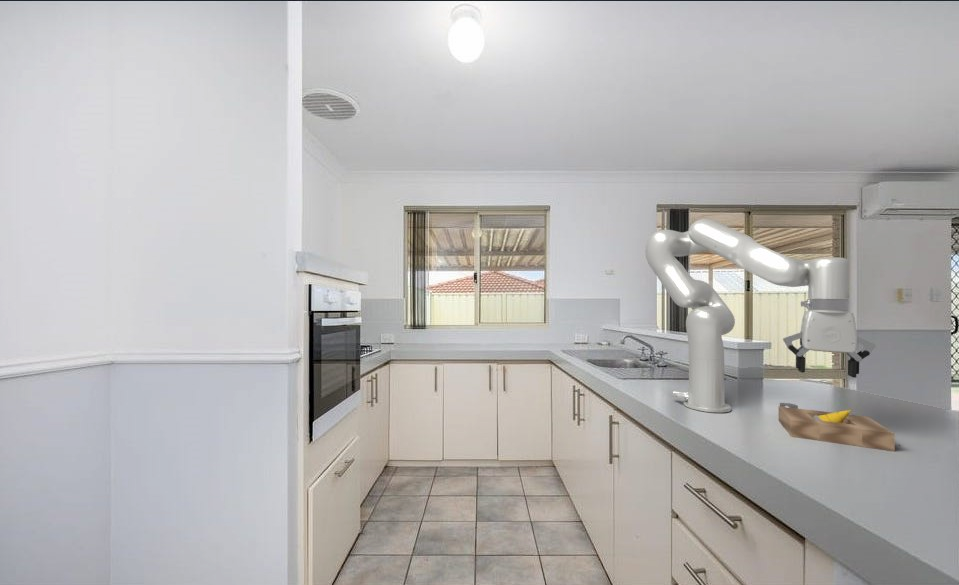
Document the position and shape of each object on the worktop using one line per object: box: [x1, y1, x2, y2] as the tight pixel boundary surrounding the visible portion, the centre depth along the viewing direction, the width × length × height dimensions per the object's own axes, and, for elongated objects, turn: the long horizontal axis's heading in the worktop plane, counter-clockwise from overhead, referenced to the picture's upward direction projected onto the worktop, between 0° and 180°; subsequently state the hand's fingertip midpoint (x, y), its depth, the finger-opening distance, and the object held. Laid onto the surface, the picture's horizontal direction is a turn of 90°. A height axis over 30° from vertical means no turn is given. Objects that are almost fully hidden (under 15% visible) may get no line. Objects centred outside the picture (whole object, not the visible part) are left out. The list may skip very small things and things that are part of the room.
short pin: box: [779, 402, 799, 409], centre depth 106 cm, size 4×4×4 cm
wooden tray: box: [778, 405, 896, 452], centre depth 93 cm, size 18×14×4 cm
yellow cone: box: [813, 409, 852, 423], centre depth 93 cm, size 5×5×10 cm
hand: (826, 374), depth 94 cm, fingers open, 9 cm apart
